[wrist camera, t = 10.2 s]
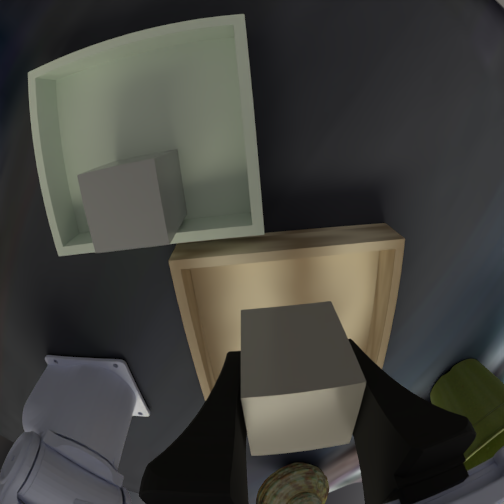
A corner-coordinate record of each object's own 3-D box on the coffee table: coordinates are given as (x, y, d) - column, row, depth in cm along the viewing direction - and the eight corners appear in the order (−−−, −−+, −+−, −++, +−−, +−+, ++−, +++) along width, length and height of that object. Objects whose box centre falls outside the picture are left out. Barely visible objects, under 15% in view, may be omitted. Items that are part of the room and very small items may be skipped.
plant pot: (414, 424, 31) (442, 491, 20) (409, 375, 26) (453, 461, 16) (486, 382, 29) (523, 439, 19) (496, 323, 25) (552, 388, 14)
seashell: (239, 482, 35) (239, 540, 25) (271, 449, 30) (277, 522, 21) (304, 486, 36) (311, 539, 27) (344, 454, 32) (360, 517, 23)
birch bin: (215, 401, 26) (213, 426, 23) (178, 241, 20) (168, 260, 17) (362, 384, 26) (371, 406, 23) (385, 222, 20) (404, 238, 17)
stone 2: (248, 373, 15) (251, 455, 10) (240, 309, 13) (240, 398, 9) (326, 364, 15) (349, 443, 10) (330, 300, 13) (366, 381, 9)
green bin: (78, 239, 19) (58, 256, 17) (53, 75, 15) (28, 72, 12) (261, 218, 19) (264, 234, 17) (244, 30, 15) (244, 13, 12)
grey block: (127, 221, 18) (95, 253, 14) (115, 160, 17) (77, 175, 12) (187, 213, 18) (169, 244, 14) (177, 149, 17) (154, 158, 12)
